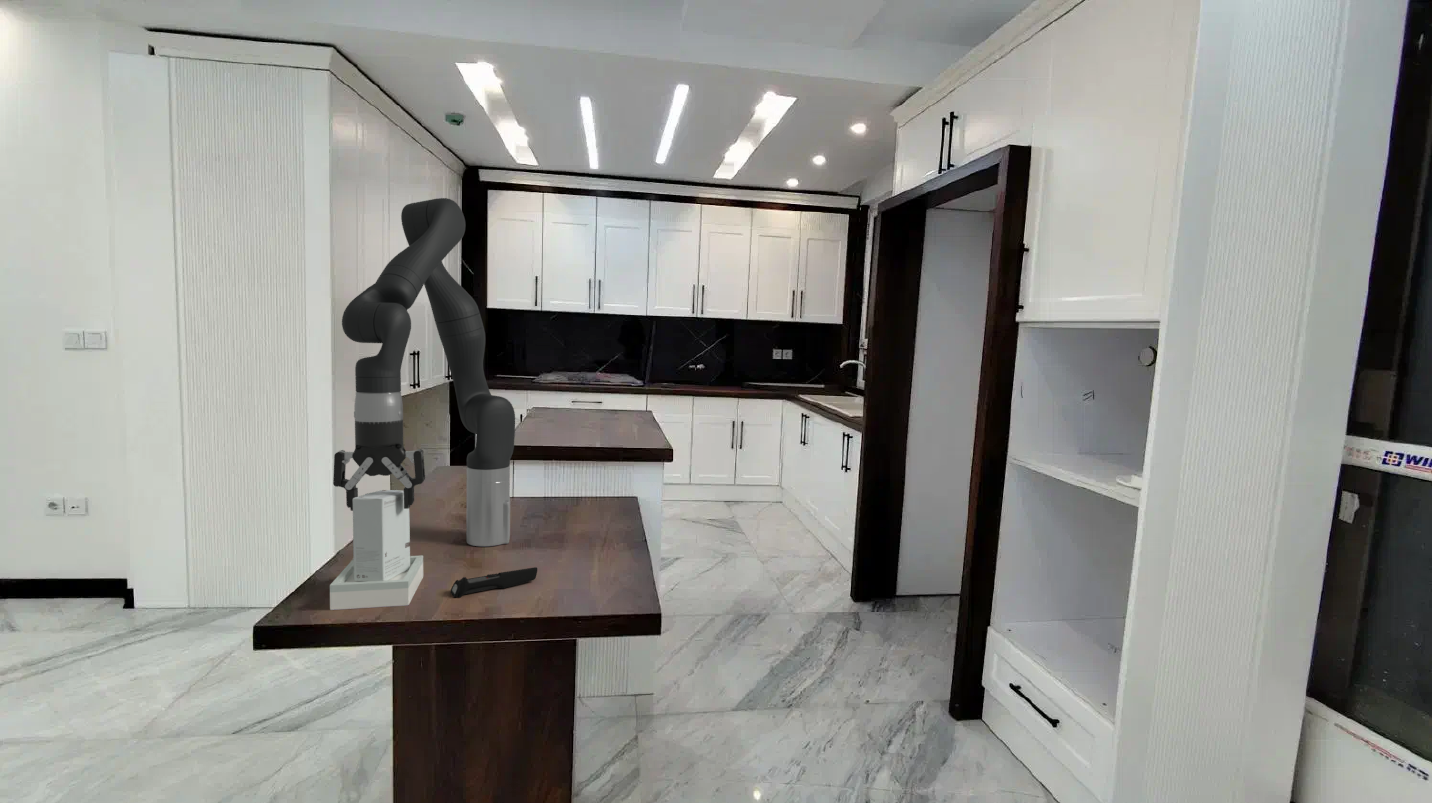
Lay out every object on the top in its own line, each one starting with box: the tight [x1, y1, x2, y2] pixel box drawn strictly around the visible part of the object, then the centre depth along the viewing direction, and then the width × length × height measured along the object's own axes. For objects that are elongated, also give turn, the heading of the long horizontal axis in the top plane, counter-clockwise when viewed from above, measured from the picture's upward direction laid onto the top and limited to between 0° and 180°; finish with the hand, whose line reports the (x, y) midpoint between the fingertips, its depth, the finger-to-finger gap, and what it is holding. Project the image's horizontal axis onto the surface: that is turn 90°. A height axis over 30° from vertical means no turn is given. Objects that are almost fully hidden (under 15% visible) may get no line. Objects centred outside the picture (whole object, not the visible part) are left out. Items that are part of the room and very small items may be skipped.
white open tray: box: [329, 554, 424, 611], centre depth 117 cm, size 12×14×4 cm
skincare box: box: [352, 489, 411, 582], centre depth 117 cm, size 8×6×15 cm
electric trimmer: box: [449, 566, 538, 599], centre depth 122 cm, size 4×16×3 cm, turn 125°
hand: (380, 508), depth 116 cm, fingers open, 8 cm apart
